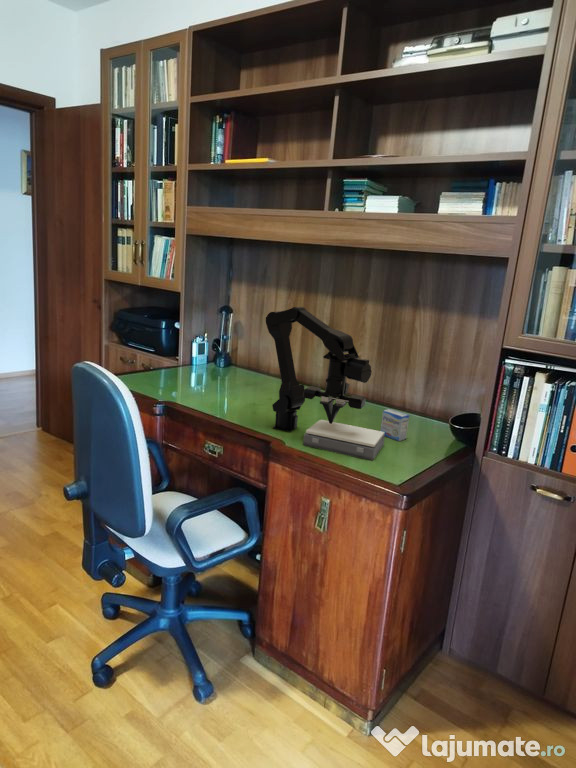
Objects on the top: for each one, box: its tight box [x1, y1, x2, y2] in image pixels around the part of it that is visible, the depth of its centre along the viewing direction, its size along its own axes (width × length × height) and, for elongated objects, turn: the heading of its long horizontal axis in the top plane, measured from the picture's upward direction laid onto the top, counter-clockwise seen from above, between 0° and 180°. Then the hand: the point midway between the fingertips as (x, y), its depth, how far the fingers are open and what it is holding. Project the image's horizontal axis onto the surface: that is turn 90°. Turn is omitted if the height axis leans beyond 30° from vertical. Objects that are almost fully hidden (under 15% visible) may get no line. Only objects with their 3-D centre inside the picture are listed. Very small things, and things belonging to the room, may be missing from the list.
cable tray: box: [302, 432, 385, 461], centre depth 165 cm, size 22×16×4 cm
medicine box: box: [379, 408, 410, 442], centre depth 176 cm, size 8×4×9 cm, turn 45°
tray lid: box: [305, 419, 385, 447], centre depth 165 cm, size 22×14×1 cm, turn 68°
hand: (330, 423), depth 165 cm, fingers closed
